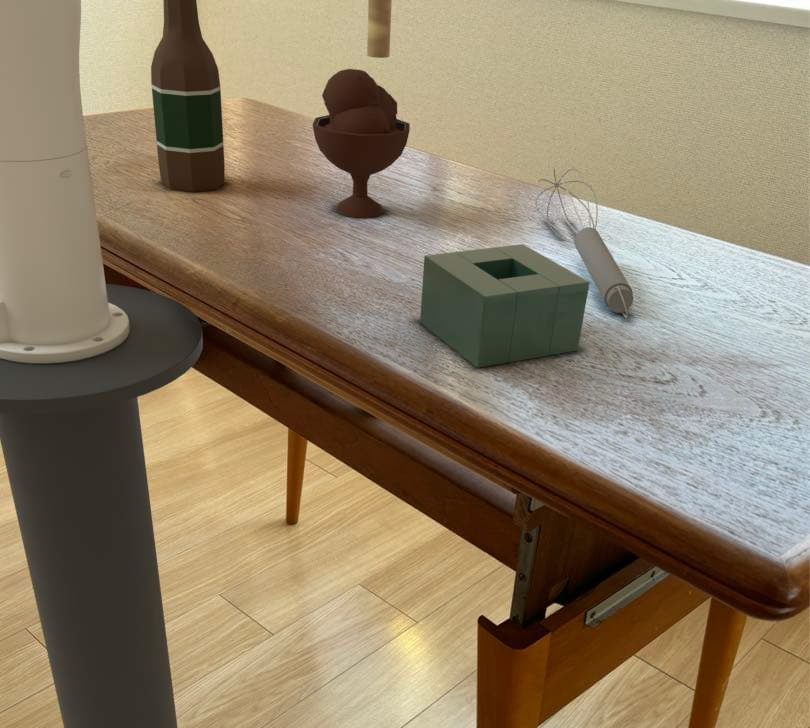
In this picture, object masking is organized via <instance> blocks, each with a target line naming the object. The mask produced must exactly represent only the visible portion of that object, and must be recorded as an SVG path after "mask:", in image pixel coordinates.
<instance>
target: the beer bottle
mask: <svg viewBox="0 0 810 728" xmlns="http://www.w3.org/2000/svg"><path fill="white" fill-rule="evenodd" d="M162 1H163V27H162V37H161V39H160V41H159V43H158V45H157V46H156V48H155V50H154V53H153V57H152V61H151V65H150V81H151V84H150V85H151V95H152V106H153V115H154V129H155V138H156V139H155V140H156V148H157V160H158V168H159V175H160V181H161V183H162V184H163V185H165V186H166V187H168V188H169V190H173V191H181V192H191V193H195V192H205V191H214V190H216V189H218V188H219V187H221V186H222V185H224V183H225V179H226V177H225V169H226V168H225V167H226V165H225V147H224V129H223V111H222V92H221V91H222V90H221V89H222V88H221V81H220V74H219V73H220V72H219V67H218V64H217V62H216V59H215V57H214V54H213V52H212V50H211V49H210V48H209V46H208V44H207V43H206V42H205V39H204V38H203V35H202V30H201V26H200V20H199V12H198V4H197V0H162Z"/></svg>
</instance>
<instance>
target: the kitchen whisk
mask: <svg viewBox="0 0 810 728" xmlns="http://www.w3.org/2000/svg"><path fill="white" fill-rule="evenodd" d="M573 170H574V171H575V172H577V173H578V174H579V176H580V178H581V180H582V181H581V180H567V181H564V179H563V178H564V176H565V175H566V174H568V173H569V172H570V171H573ZM556 173H557V174H558V176H559V178H560V179H559V180H558V181H557V176H556ZM553 176H554V182H553V181H550V180H548V179H544V178H540V179H538V180H537V184H538V187H539V189H540V191H541V192H540V193H539V194H538V195H537V197H536V199H535V200H534V203H535V209H536V212H537V213H538V214H539V216H540V217H541V218H542V219H543V220H544V221H545V222H546V223H547V224H548V225H549V227H550V229H551V230H552V231H553V233H554V234H555V235H556V236H558V237H559V238H560V239H562V240H564V241H566V242H568V243H570V244H573V245H574V246H575V249H576V250H577V252H578V254H579V256H580V258H581V260H582V262H583V264H584V266H585V268H586V270H587V271H588V274H589V276H590V278H591V280H592V281H593V284H594V285H595V287H596V289H597V291H598V293H599V295H600V296H601V298H602V300H603V302H604V304H605V306H606V307H607V308H608V309H610V310H611V311H612V312H614V313H619V314H620V313H622V315H623V317H625V318H626V319H628V318H629V312H628V310H629V309H630V308H631V307H632V305H633V303H634V291H633V288H632V287H631V285H630V284H629V282H628V280H627V279H626V277H625V275H624V274H623V272H622V271H621V268H620V267H619V265H618V264H617V262H616V260H615V258H614V256H613V255H612V253H611V252H610V250H609V248H608V247H607V244H606V243H605V241H604V239H603V238H602V236H601V235H600V233H599V232H598V231H599V230H597V225H598V216H599V215H598V213H599V212H598V211H599V210H598V199H597V196H596V193H595V191H594V189H593V187H592V186H591V185H590V184H589V183H587V182H585V180H584V177H583V175H582V173H581V172H580V171H579V170H578V169H577V168H575V167H573V168H569V169H568V170H567V171H565V173H563V174H562V175H561V174H560V172H559V170H558V169H557V168H556V167H554V168H553ZM540 181H544V182H547V183H550V184H552V186H550V187H548V188H545V189H544V190H543V188H542V186H541V184H540ZM560 182H561V183H560ZM569 183H579V184H583V188H584V191H585V196H586V203H587V206H586V205H585V204H584V202H583V201H582V200H581V199H579V197H577V196H576V194H573V193H572V192H571V191H569V190H568V188H567V185H566V184H569ZM561 185H563V186H564V187H562V186H561ZM587 187H589V188H590V190H591V192H592V193H593V196H594V199H595V207H596V208H595V209H596V214H595V215H596V216H595V222H594V219H593V216H592V214H591V211H590V202H589V195H588V191H587ZM552 188H554V189H553V190H552V192H551V195H550V197H549V198H548V196H547V194H546V193H545V192H547V191H548V190H551V189H552ZM559 188H560V189H562V190H564V191H566V193H567V195H568V198H569V199H570V202H571V204H572V207H573V209H574V211H575V213H576V216H577V218H578V220H579V221H578V222H579V223H580V225H581V228H582V229H580V230H579V231H577V230H576V228H574V227H573V225H572V224H571V222H570V219H569V218H568V215H567V212H566V209H565V207H564V204H563V201H562V198H561V194H560V189H559ZM556 190H557V195H558V197H559V201H560V204H561V208H562V210H563V213H564V215H563V214H562V213H561V212H560V211H559V209H557V207H556V206H555V205H554V204H553V202H552V201H551V200H552V197H553V195H554V193H555V191H556ZM542 194H543V195H544V197H545V198H546V199H547V201H548V203H547V209H546V218H547V219H546V218H545V216H543V215H542V213H541V212H540V210H539V208H538V206H537V201H538V199H539V198H540V196H541V195H542ZM572 197H574V198H575V199H576V200H577V201H578V202H579V203H581V204H582V206H583V207H584V208H585V210H586V212H587V213H588V223H589V227H588V226H587V227H584V225H583V222H582V220H581V218H580V215H579V212H578V210H577V208H576V205H575V204H574V201H573V198H572ZM550 204H551V206H552V207H553V208H554V209H555V211H556V212H557V213H558V214H559V215H560V217H561V218H562V219H563V220H564V221H565V222H566V224H567V225H568V226H569V227H570V228H571V230H572V232H573V233H574V235H575V237H573V236H571V235H569V234H567V233H566V232H564V231H562V230H561V229H559V228H558V227H556V226H555V225H553V223H552V222H550V218H549V208H550ZM564 216H565V217H564ZM554 229H555V230H554ZM556 230H557V231H559V232H560V233H561V234H563V235H564V236H567V237H568V238H570V239H572V240H574V241H571V240H568V239H567V238H564V237H563V236H561V235H560V234H559V233H558V232H557V231H556Z"/></svg>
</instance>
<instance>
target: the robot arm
mask: <svg viewBox="0 0 810 728" xmlns="http://www.w3.org/2000/svg"><path fill="white" fill-rule="evenodd" d="M81 26H82V0H0V358H1V359H4V360H8V361H13V362H19V363H29V364H53V363H65V362H72V361H78V360H83V359H87V358H91V357H94V356H97V355H100V354H103V353H105V352H108V351H110V350H112V349H114V348H115V347H117V346H118V345H120V344H121V343H122V342H123V341H124V340H125V339H126V338H127V336H128V334H129V332H130V326H129V319H128V316H127V314H126V313H125V312H124V311H123V310H122V309H120V308H119V307H117V306H115V305H113V304H111V303H108V298H107V291H106V284H107V283H106V276H105V269H104V262H103V255H102V247H101V239H100V231H99V224H98V217H97V209H96V208H97V207H96V201H95V194H94V186H93V180H92V179H93V178H92V172H91V171H92V170H91V164H90V156H89V150H88V144H87V136H86V127H85V121H84V113H83V103H82V92H81V78H80V45H81V42H80V41H81Z"/></svg>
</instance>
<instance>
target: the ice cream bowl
mask: <svg viewBox="0 0 810 728" xmlns="http://www.w3.org/2000/svg"><path fill="white" fill-rule="evenodd" d="M321 97H322V99H323V103H324V106H325V108H326V110H327V112H328V114H327V115H321V116H319V117H315V118H314V120H313V121H312V130H313V134H314V140H315V142H316V144H317V147H318V149H319V151H320V152H321V154H323V156H324V157H325V159H326V160H328V162H330V163H331V164H332V165H334V166H335V167H336V168H338V169H339V170H341V171H343V172H346V173H347V174H350V177H351V180H352V194H351V195H349V196H348V197H346V198H343V200H341V201H339V202H338V204H337V207H336V213H338V214H340V215H342V216H344V217H350V218H357V219H363V218H364V219H365V218H375V217H378V216H381V215H383V207H382V204H381V203H379V202H377V201H376V200H375V199H373V198H372V197H371V196H369V195H368V182H369V179H370V178H371V175H374V174H378V173H381V172H383V171H384V170H386V169H387V168H388V167H391V166H392V165H393V164H394V163H395V162H396V161H397V160H398V159H399V158H400V157H401V156H402V155H403V152H404V150H405V148H406V146H407V143H408V139H409V135H410V131H411V130H410V128H411V127H410V126H411V125H410V123H409V122H406V121H404V120H401V119H398V118H397V115H398V101H396V99H395V98H394V97H393V96H392V95H391V94H390V93H389V92H388V91H387V90H386V89H385V88H384V87H383V86H382V85H380V84H378V83H377V82H376V81H375V79H374V78H373V77H371V76H370V74H369V73H368V72H366V71H365V70H363V69H355V68H347V69H346V68H345V69H341V70H339V71H337V72H336V73H334V74H333V75H332V76H331V77H330V78H329V79H328V80H327V82H326V84H325V86H324V89H323V91H322V95H321Z"/></svg>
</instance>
